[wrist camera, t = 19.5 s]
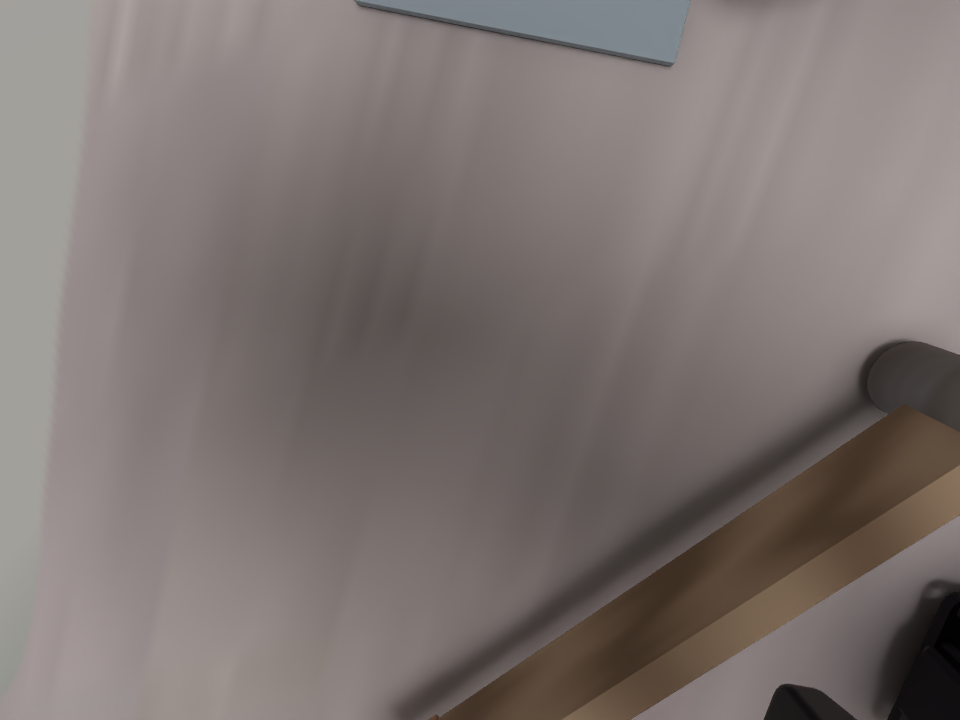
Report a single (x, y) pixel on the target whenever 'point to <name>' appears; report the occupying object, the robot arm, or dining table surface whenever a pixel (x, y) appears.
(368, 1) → the mat
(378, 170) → the dining table surface
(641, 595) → the bar
